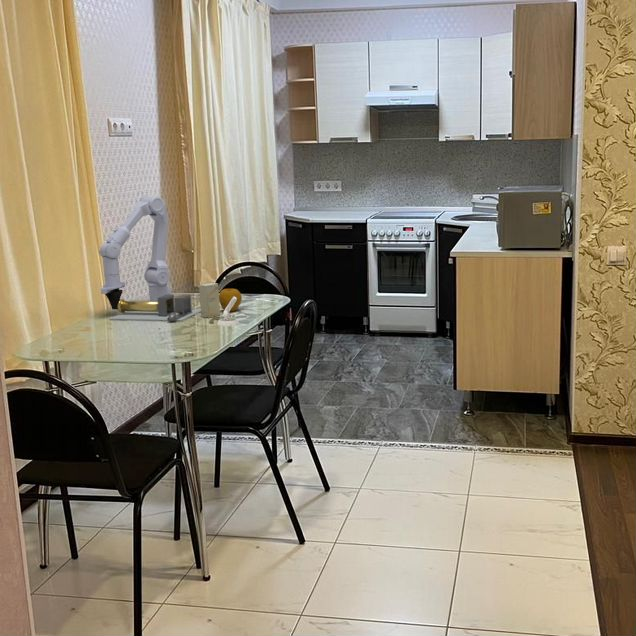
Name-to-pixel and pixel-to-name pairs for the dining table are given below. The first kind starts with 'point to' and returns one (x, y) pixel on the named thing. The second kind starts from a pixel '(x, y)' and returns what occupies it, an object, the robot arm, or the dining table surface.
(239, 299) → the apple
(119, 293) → the robot arm
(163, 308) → the chain end
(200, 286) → the skincare box
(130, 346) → the dining table surface
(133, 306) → the pin
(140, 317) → the mat
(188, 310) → the chain end
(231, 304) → the white lever switch
